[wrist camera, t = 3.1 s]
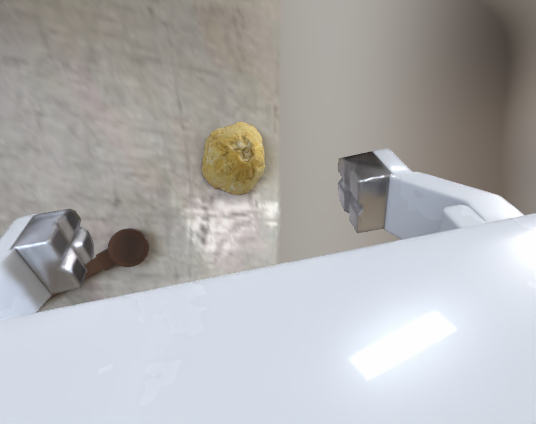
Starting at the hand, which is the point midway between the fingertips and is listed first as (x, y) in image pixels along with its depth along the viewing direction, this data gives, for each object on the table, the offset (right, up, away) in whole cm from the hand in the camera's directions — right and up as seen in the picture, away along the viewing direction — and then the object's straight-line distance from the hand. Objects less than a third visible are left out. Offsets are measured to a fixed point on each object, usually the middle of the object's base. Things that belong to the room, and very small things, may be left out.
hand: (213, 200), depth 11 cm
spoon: (-23, -9, +35) cm, 43 cm away
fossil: (-4, +8, +43) cm, 44 cm away
